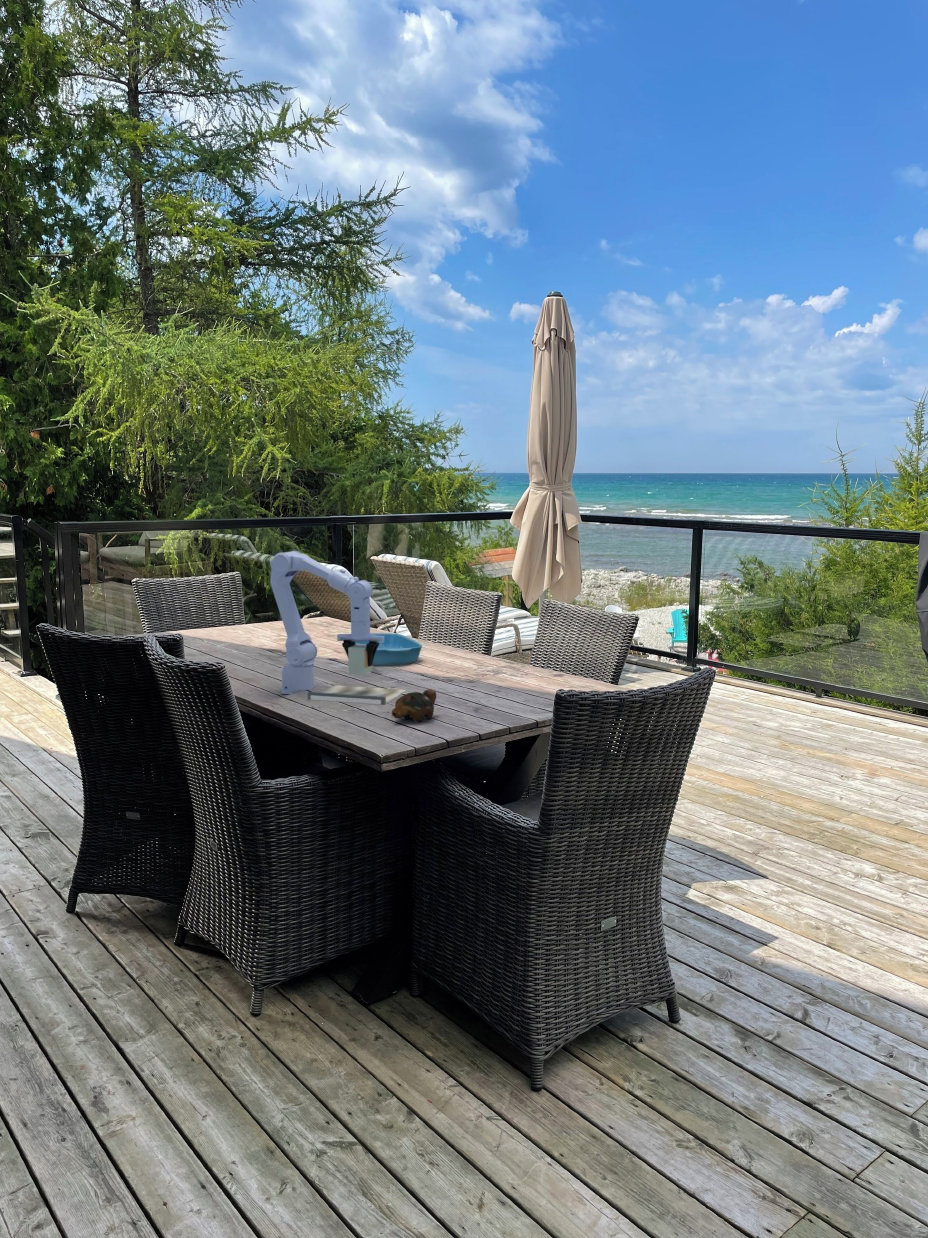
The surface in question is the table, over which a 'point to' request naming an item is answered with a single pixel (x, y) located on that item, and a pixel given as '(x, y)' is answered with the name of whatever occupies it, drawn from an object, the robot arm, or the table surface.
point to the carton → (358, 660)
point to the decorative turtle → (415, 705)
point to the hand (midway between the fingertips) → (361, 665)
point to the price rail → (347, 698)
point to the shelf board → (365, 691)
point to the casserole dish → (395, 650)
